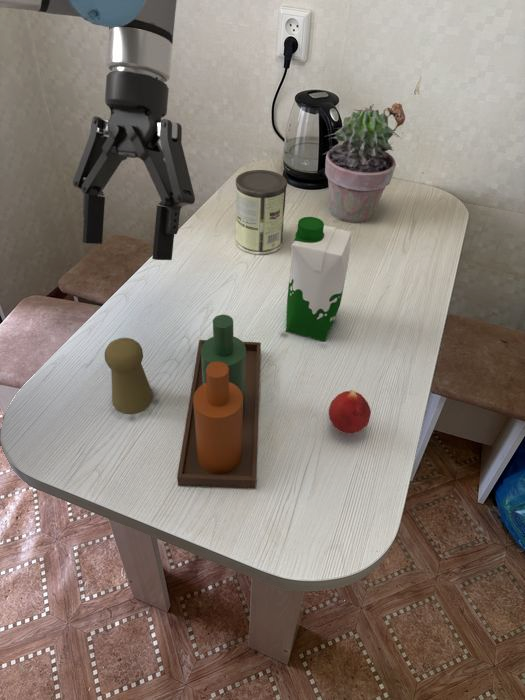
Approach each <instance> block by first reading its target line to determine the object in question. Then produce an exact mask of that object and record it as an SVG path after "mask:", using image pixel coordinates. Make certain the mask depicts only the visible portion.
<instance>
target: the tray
mask: <svg viewBox="0 0 525 700" xmlns="http://www.w3.org/2000/svg"><path fill="white" fill-rule="evenodd" d="M206 340H207V339H199V340H198V346H197V352H196V359H195V364H194V371H193V375H192V376H193V377H192V383H191V389H190V394H189V402H188V406H187V413H186V420H185V426H184V432H183V439H182V444H181V449H180V450H181V451H180V457H179V463H178V468H177V469H178V470H177V475H176V481H177V486H178V487H192V488H193V487H194V488H217V489H218V488H219V489H243V490H244V489H246V490H256V489H257V474H258V473H257V472H258V470H257V468H258V440H259V436H258V435H259V414H260V413H259V410H260V383H261V382H260V380H261V379H260V377H261V376H260V375H261V350H262V349H261V347H262V346H261V345H262V343H261V342H260V341H259V342H258V341H242V342H243V343H244V345H245V347H246V370H245V406H244V412H243V421H242V457H241V461H240V463H239V465H238V466H237V467H236V468H235V469H234V470H233V471H231V472H229V473H226V474H212V473H209V472H207V471H206V470H204V469H203V468H202V467H201V465H200V464H199V461H198V454H197V442H196V429H195V416H194V404H193V397H194V394H195V392H196V390H197V389H198V388H199V387H200V386H201V385H203V380H202V363H201V347H202V345H203V343H204V342H205V341H206Z"/></svg>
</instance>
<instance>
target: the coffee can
mask: <svg viewBox="0 0 525 700" xmlns="http://www.w3.org/2000/svg"><path fill="white" fill-rule="evenodd" d="M287 187H288V180H287V179H286V177H285V176H284V175H282V174H280V173H278V172H276V171H272V170H267V169H253V170H252V169H251V170H247V171H243V172H242V173H240V174H239V175H237V177H236V178H235V198H236V199H235V211H236V212H235V227H236V228H235V231H236V232H235V245H236V246H237V247H238V248H239V249H240V250H241V251H243V252H245V253H248V254H252V255H259V256H260V255H269V254H273V253H276V252H278V251H279V250H280V249H281V248H282V246H283V234H284V221H285V210H286V209H285V208H286V197H287Z"/></svg>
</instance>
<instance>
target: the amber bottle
mask: <svg viewBox="0 0 525 700" xmlns="http://www.w3.org/2000/svg"><path fill="white" fill-rule="evenodd" d="M206 381H207V383H204V384H203V385H201V386H200V387H199V388H198V389H197V390H196V392H195V394H194V397H193V404H194V416H195V429H196V442H197V454H198V461H199V464H200V465H201V467H202V468H203V469H204V470H206V471H207V472H209V473H212V474H226V473H229V472H231V471H233V470H234V469H235V468H236V467H237V466H238V465H239V463H240V461H241V457H242V421H243V395H242V392H241V390H240V389H239V388H238V387H237V386H236V385H235V384H233V383H231V382H229V368H228V366H227V365H226V364H225V363H223V362H212V363H210V364H209V365H208V366H207V368H206Z"/></svg>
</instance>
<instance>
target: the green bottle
mask: <svg viewBox="0 0 525 700" xmlns="http://www.w3.org/2000/svg"><path fill="white" fill-rule="evenodd" d="M205 340H206V341H205V342H204V343H203V345H202V347H201V363H202V380H203V384H204V383H207V381H206V368H207V366H208V365H209V364H210V363H212V362H223V363H225V364H226V365H227V366H228V368H229V382H231V383H233V384H235V385H236V386H237V387H238V388H239V389H240V390H241V392H242V395H243V412H244V406H245V370H246V347H245V345H244V343H243V342H244V341H242V340H241V339H240V338H238V337H236V336H234V318H233V317H232V316H230V315H228V314H218V315H216V316H214V318H213V319H212V336H211V337H209V338H208V339H205Z"/></svg>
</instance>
